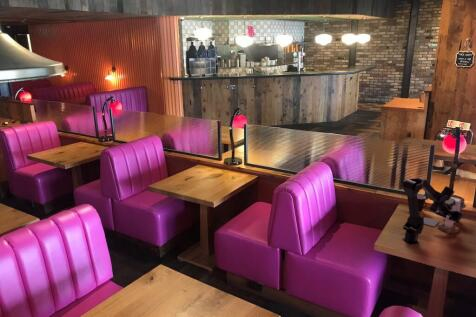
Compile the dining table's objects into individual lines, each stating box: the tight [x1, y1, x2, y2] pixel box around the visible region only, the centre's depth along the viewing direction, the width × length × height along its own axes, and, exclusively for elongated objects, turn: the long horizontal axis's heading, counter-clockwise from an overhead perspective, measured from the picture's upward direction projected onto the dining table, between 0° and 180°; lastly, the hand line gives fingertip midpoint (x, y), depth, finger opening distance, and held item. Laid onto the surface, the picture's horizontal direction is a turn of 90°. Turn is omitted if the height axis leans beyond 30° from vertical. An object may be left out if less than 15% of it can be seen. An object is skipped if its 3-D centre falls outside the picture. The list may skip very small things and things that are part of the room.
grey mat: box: [423, 216, 440, 228], centre depth 255 cm, size 11×9×1 cm
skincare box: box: [442, 196, 462, 224], centre depth 257 cm, size 8×6×15 cm
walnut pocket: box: [437, 222, 460, 234], centre depth 245 cm, size 8×8×2 cm
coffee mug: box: [417, 193, 427, 213], centre depth 271 cm, size 12×9×10 cm
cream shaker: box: [444, 215, 455, 229], centre depth 244 cm, size 4×4×11 cm
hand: (450, 219), depth 244 cm, fingers closed on cream shaker, 4 cm apart
